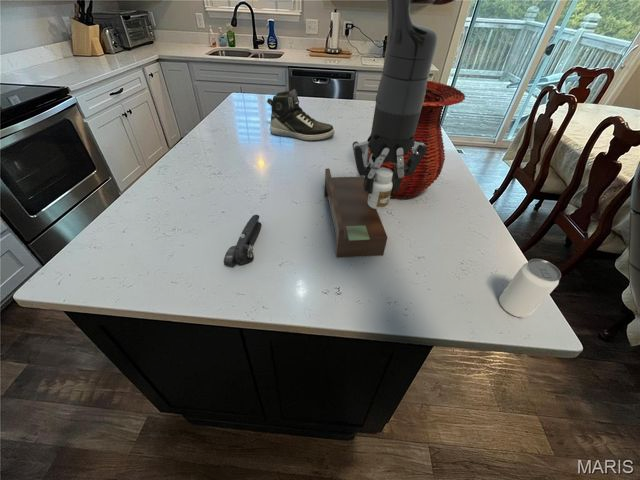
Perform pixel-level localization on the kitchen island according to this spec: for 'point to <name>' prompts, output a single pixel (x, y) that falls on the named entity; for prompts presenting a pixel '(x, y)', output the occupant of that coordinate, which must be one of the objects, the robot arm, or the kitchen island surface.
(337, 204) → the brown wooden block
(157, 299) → the kitchen island surface
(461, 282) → the kitchen island surface
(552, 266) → the can
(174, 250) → the kitchen island surface
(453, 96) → the vase
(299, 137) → the athletic shoe
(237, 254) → the can opener
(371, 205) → the pill bottle
